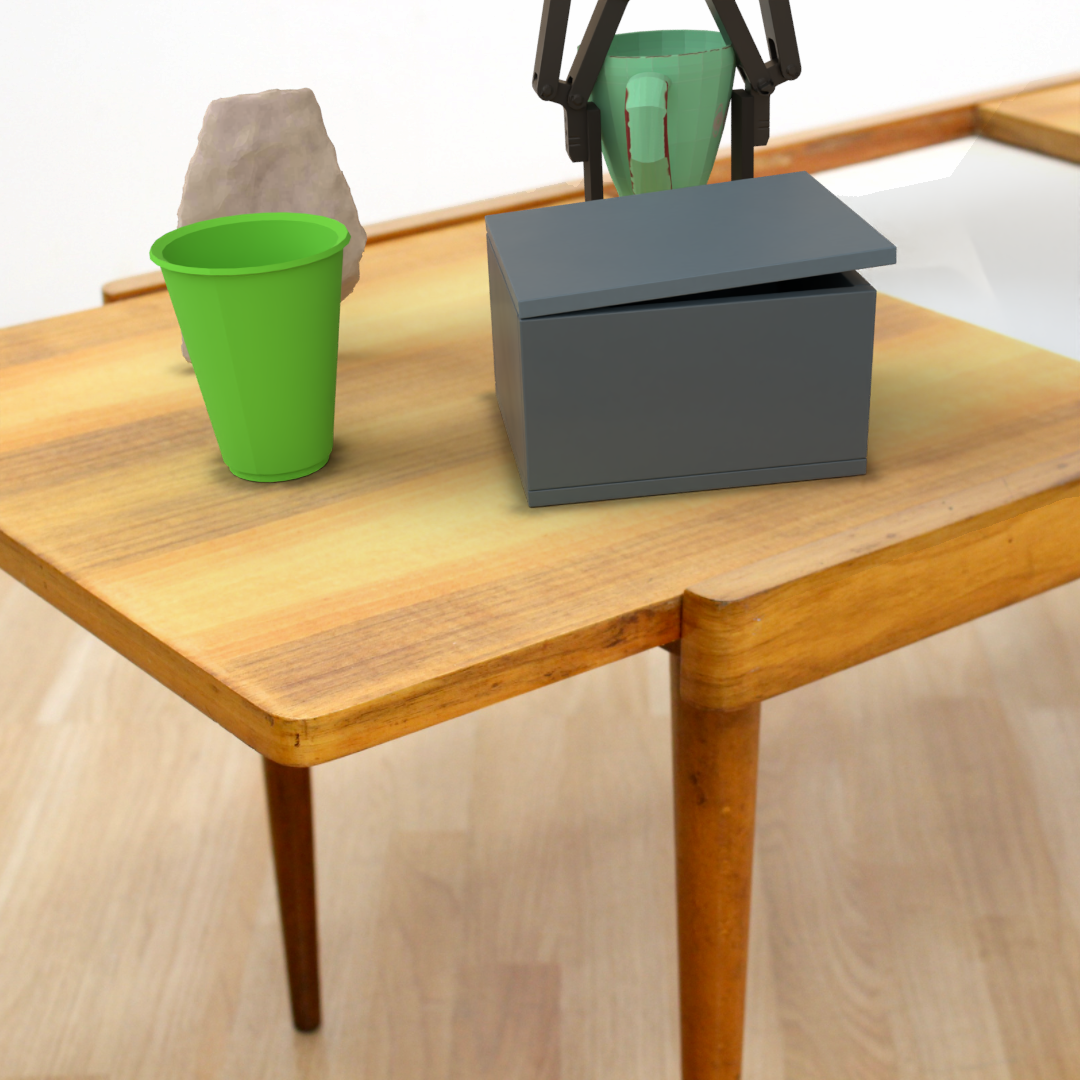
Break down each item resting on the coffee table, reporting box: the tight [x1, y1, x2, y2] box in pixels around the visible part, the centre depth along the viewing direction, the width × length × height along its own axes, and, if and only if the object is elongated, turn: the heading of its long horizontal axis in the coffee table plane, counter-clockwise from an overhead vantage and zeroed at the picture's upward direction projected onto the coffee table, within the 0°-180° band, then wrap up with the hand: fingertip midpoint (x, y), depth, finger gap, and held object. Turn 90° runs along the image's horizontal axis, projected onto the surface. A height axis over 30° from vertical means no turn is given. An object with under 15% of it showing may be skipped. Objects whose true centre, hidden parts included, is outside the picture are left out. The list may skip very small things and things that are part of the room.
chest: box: [485, 232, 878, 508], centre depth 74 cm, size 16×14×9 cm
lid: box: [484, 170, 898, 319], centre depth 72 cm, size 16×14×1 cm
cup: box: [148, 212, 351, 483], centre depth 73 cm, size 9×9×11 cm
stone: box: [176, 87, 368, 364], centre depth 84 cm, size 11×3×15 cm, turn 88°
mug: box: [576, 29, 737, 197], centre depth 94 cm, size 15×10×10 cm
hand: (668, 205), depth 96 cm, fingers closed on mug, 9 cm apart
